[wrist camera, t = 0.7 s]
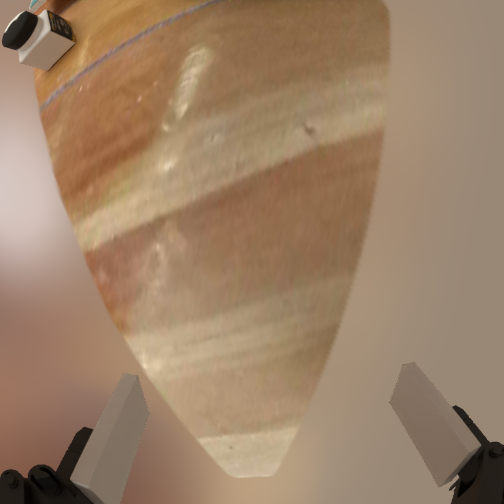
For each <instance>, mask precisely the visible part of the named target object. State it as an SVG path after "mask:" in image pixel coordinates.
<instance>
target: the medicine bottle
mask: <svg viewBox="0 0 504 504" xmlns="http://www.w3.org/2000/svg"><path fill="white" fill-rule="evenodd" d="M75 43H76V41H75V38H74V35H73V32H72V29H71V26H70V22H69V21H67V20H65V19H63V18H62V17H60V16H58V15H56V14H54V13H52V12H50V11H48V10H44V11H43V12H42V13H41V14H40V15H39V16H37V15H34V14H32V13H30V12H27V11H23V12H21V13H19V14H18V15H17V16H16V17H15V18H14V19H13V20H12V21H11V22H10V24H9V25H8V27H7V28H6V30H5V33H4V35H3V39H2V44H3V46H4V47H7V48H10V49H14V50H17V51H18V52H19V59H20V63H21V64H25V65H29V66H32V67H36V68H39V69H42V70H46V71H48V70H49V69H50V68H51V67H52V66H53V65H54V64H55V63H56V62H57V60H58V59H59V58H60V57H61V56H62V55H63V54H64V53H65V52H67V51H68V50H69V49H70V48H71V47H72V46H73V45H74V44H75Z"/></svg>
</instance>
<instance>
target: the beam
mask: <svg viewBox="0 0 504 504" xmlns="http://www.w3.org/2000/svg"><path fill="white" fill-rule="evenodd" d="M46 1H47V0H32V2H31V5H30V8H29V10H30V11H32V12H33V13H34V12H35V11H36V10H37V9H38V8H39V7H40V6H41V5H42V4H44V3H45V2H46Z"/></svg>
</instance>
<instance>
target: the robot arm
mask: <svg viewBox="0 0 504 504" xmlns="http://www.w3.org/2000/svg"><path fill="white" fill-rule="evenodd" d="M389 403H390V404H391V406H392V407H393V409H394V411H395V412H396V414H397V416H398V417H399V419H400V421H401V422H402V424H403V426H404V427H405V429H406V431H407V433H408V434H409V436H410V438H411V439H412V441H413V443H414V444H415V446H416V448H417V450H418V451H419V453H420V455H421V456H422V458H423V460H424V462H425V464H426V466H427V467H428V469H429V471H430V473H431V474H432V476H433V478H434V480H435V482H436V484H437V486H438V487H441V486H443V485H444V484H447V483H448V482H450V481H452V479H453V478H454V477H455V476H456V475H457V474H458V475H459V477H460V478H459V479H458V480H457V481H456V482H455V483H454V484H453V485H452V486H451V487H450V489H449V491H450V490H452V489H453V488H454V487H455V486H456V488H455V489H454V495H453V499H452V502H451V504H504V445H502V444H501V443H499V442H491V443H490V442H489V441H488V440H487V438H486V437H485V436H484V435H483V434H482V432H481V431H480V430H479V429H478V427H477V426H476V425H475V424H474V423H473V421H472V420H471V418H469V416H468V415H467V414H466V412H465V411H464V410H463V409H461V408H460V407H458V406H456V405H455V406H453V407H451V405H450V404H449V403H448V402H447V400H446V399H445V398H444V397H443V396H442V394H441V393H440V392H439V391H438V390H437V389H436V387H435V386H434V385H433V384H432V382H431V381H430V380H429V379H428V378H427V376H426V375H425V374H424V373H423V372H422V371H421V369H420V368H419V367H418V366H417V365H416V364H415V362H413V363H409V364H403V366H402V369H401V372H400V375H399V378H398V381H397V383H396V386H395V389H394V392H393V395H392V397H391V400H390V402H389ZM148 416H149V411H148V407H147V405H146V401H145V398H144V395H143V391H142V388H141V385H140V381H139V377H138V375H131V374H123V376H122V378H121V379H120V382H119V383H118V385H117V387H116V389H115V391H114V392H113V394H112V396H111V398H110V400H109V402H108V403H107V405H106V407H105V409H104V411H103V413H102V415H101V417H100V419H99V420H98V422H97V424H96V426H95V428H94V429H90V428H87V427H83V428H82V429H81V430H80V431H79V432H77V433H76V435H75V436H74V438H73V440H72V443H71V444H70V446H69V448H68V450H67V451H66V453H65V455H64V457H63V459H62V461H61V463H60V465H59V467H58V469H57V471H56V472H55V471H54V470H53V469H52V468H51V467H50V466H47V465H36V466H34V467H33V468H32V469H30V471H29V473H28V478H24V477H23V476H22V475H21V474H20V473H19V472H18V471H16V470H12V469H10V470H6V471H4V472H3V473H2V474H1V477H0V504H120V502H121V499H122V495H123V492H124V489H125V485H126V482H127V479H128V476H129V473H130V470H131V466H132V463H133V460H134V457H135V454H136V451H137V448H138V445H139V442H140V439H141V437H142V433H143V430H144V428H145V425H146V422H147V419H148Z"/></svg>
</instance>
